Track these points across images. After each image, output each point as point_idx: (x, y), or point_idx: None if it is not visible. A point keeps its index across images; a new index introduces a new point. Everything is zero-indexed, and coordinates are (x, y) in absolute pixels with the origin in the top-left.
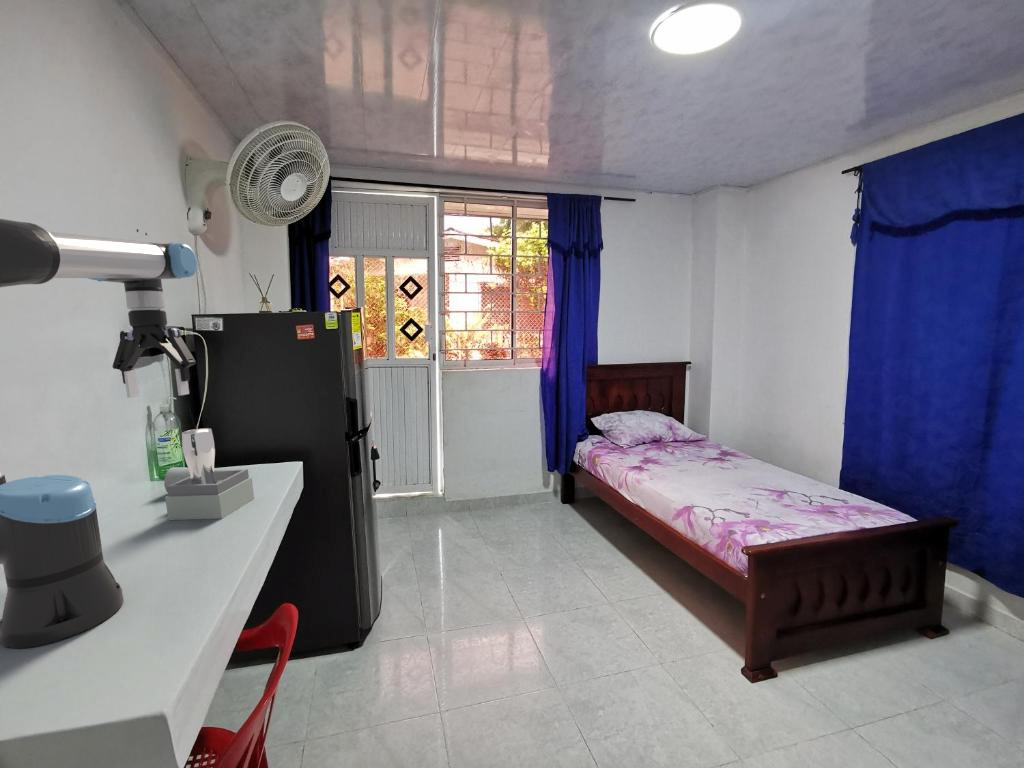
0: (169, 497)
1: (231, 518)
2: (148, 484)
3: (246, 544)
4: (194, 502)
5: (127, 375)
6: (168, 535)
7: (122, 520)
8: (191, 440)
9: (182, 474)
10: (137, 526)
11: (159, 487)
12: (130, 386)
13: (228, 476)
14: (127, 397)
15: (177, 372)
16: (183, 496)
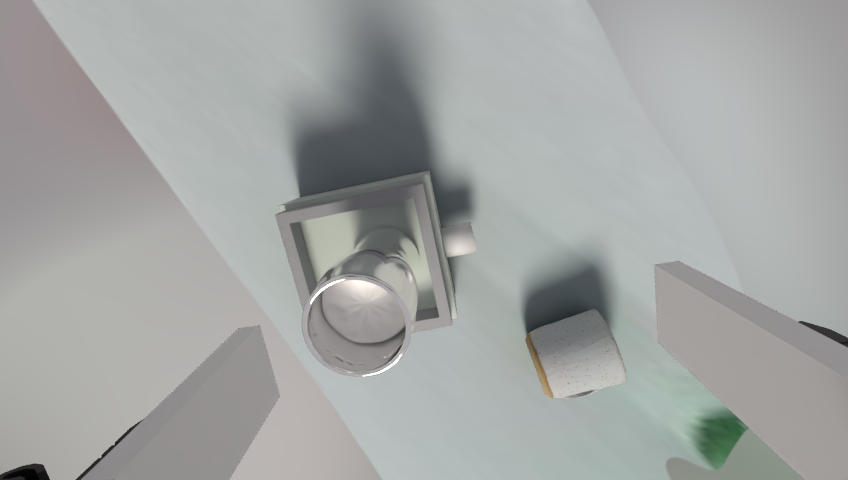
0: (416, 177)
1: (277, 201)
2: None
3: (112, 81)
4: (351, 189)
5: (801, 356)
6: (338, 92)
7: (553, 150)
8: (337, 269)
9: (564, 346)
10: (472, 124)
11: None
12: (706, 314)
13: None
14: (678, 261)
15: (120, 449)
16: (375, 185)
